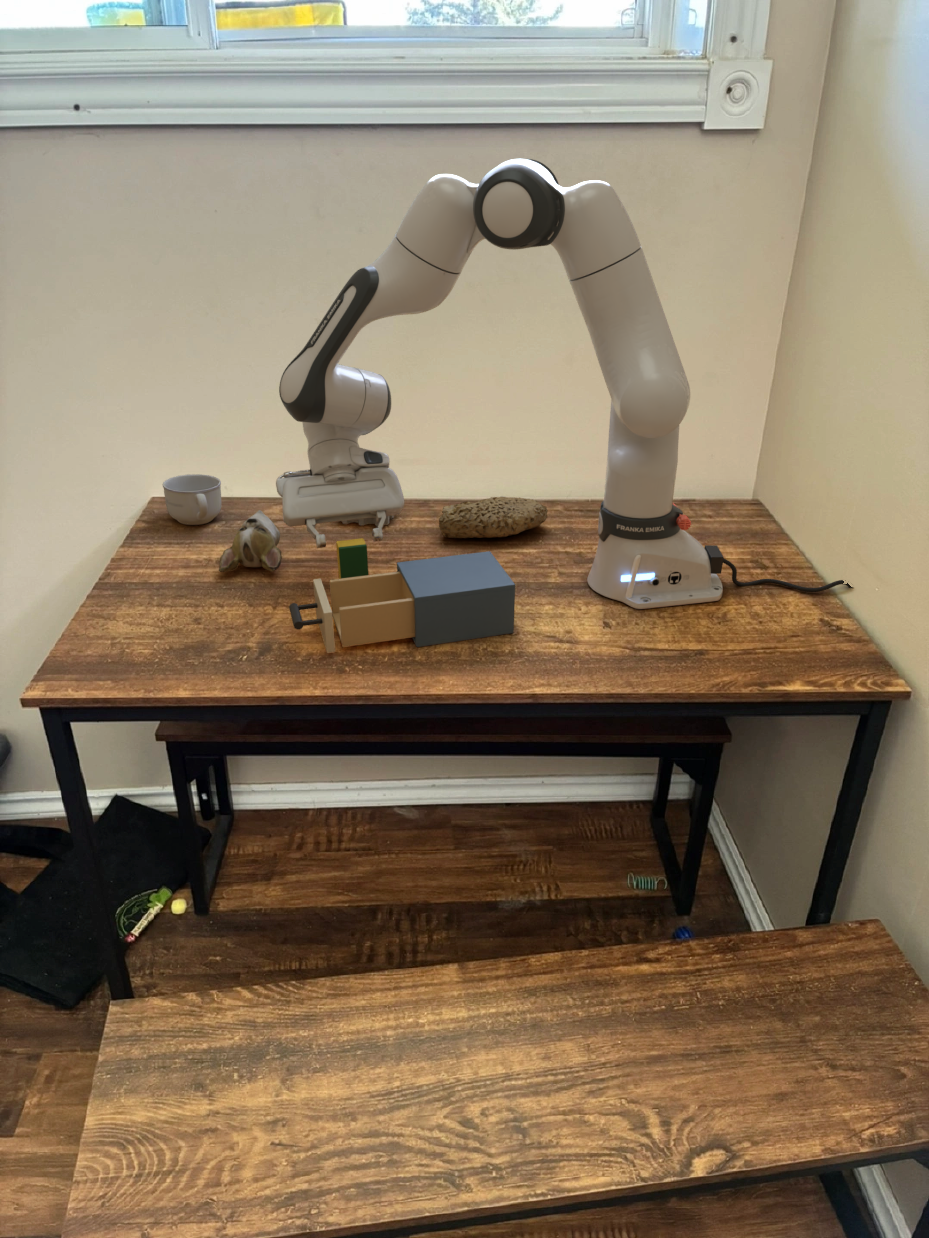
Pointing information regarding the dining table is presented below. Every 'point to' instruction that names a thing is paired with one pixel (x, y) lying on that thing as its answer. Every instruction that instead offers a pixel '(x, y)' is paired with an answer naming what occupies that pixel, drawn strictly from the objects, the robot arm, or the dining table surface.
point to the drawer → (361, 610)
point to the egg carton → (369, 521)
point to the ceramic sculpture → (254, 545)
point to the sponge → (491, 517)
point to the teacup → (193, 498)
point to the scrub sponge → (352, 558)
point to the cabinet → (459, 597)
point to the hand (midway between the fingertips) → (350, 543)
